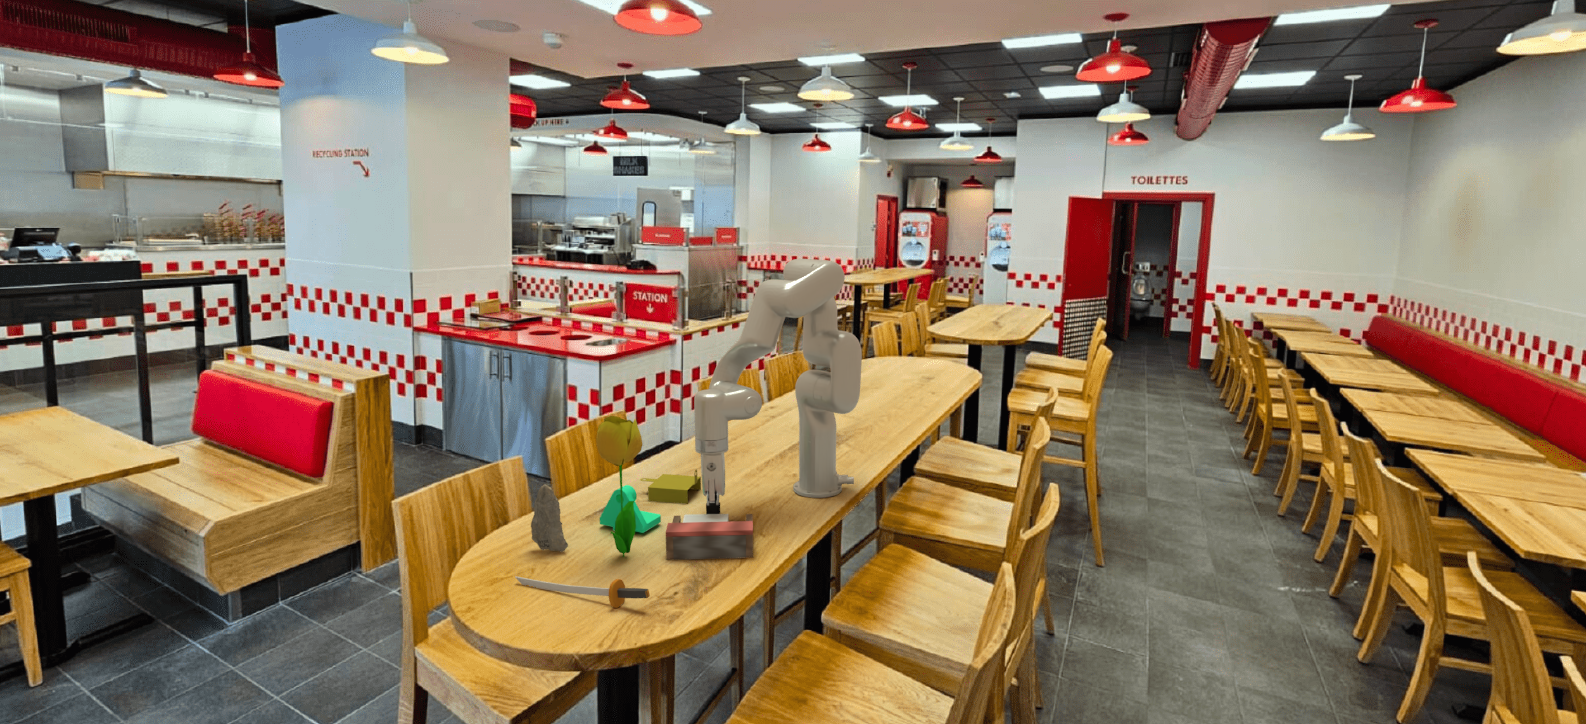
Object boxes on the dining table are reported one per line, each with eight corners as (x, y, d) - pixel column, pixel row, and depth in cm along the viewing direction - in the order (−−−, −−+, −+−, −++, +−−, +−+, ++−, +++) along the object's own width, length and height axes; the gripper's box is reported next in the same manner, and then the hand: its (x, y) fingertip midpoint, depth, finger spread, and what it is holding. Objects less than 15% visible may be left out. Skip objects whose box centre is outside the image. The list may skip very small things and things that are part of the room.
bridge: (752, 524, 183) (752, 499, 181) (753, 557, 165) (752, 530, 164) (674, 525, 182) (673, 501, 180) (666, 559, 164) (665, 532, 163)
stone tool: (572, 549, 169) (569, 482, 166) (564, 555, 166) (560, 487, 163) (538, 545, 171) (533, 479, 168) (529, 551, 168) (525, 484, 165)
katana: (508, 588, 152) (506, 564, 151) (523, 579, 156) (521, 555, 155) (643, 618, 140) (642, 592, 139) (656, 607, 144) (655, 581, 143)
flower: (623, 568, 160) (617, 425, 154) (595, 559, 164) (587, 419, 158) (652, 553, 167) (647, 415, 161) (624, 545, 171) (618, 410, 166)
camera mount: (662, 525, 182) (661, 482, 181) (643, 537, 176) (641, 493, 174) (620, 517, 187) (618, 475, 186) (600, 528, 181) (597, 485, 179)
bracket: (651, 456, 210) (705, 460, 207) (652, 484, 211) (705, 488, 208) (627, 475, 195) (685, 479, 192) (628, 505, 196) (686, 509, 193)
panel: (728, 528, 181) (728, 513, 181) (725, 558, 166) (725, 542, 165) (684, 528, 181) (684, 514, 180) (678, 558, 165) (677, 543, 165)
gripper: (727, 453, 173) (729, 532, 176) (728, 434, 188) (730, 507, 191) (693, 453, 172) (695, 533, 176) (697, 435, 187) (698, 508, 190)
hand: (713, 519), depth 183 cm, fingers closed
